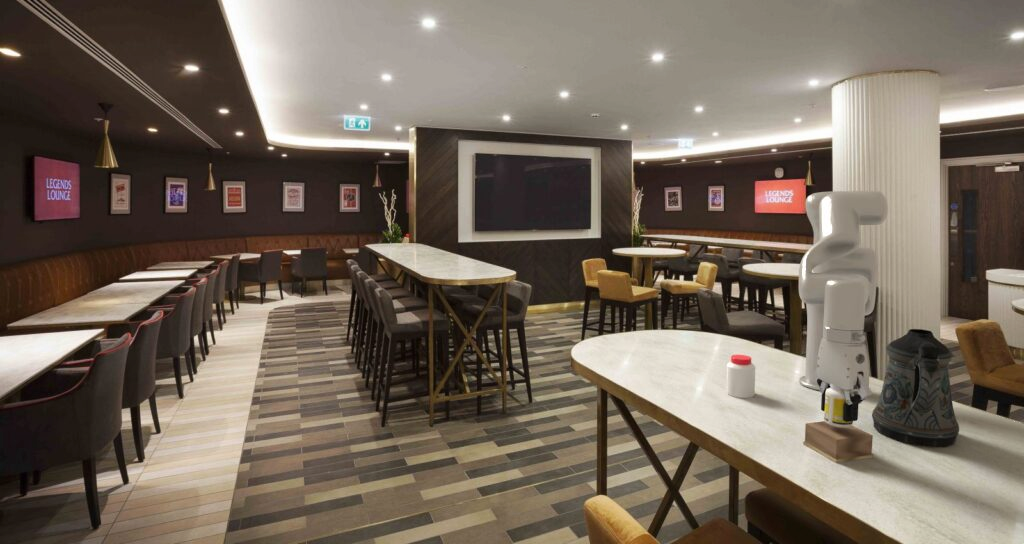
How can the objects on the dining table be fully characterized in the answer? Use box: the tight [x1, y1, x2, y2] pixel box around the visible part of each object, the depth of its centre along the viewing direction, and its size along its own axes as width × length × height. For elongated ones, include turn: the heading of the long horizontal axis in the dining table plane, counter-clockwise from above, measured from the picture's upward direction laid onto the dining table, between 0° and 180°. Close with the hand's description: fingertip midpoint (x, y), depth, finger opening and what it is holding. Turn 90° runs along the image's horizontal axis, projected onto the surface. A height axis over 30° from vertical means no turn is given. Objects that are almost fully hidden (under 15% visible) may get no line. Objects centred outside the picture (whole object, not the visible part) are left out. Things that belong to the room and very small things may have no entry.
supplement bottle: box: [823, 384, 854, 427], centre depth 118 cm, size 5×5×10 cm
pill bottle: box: [725, 354, 756, 399], centre depth 156 cm, size 8×8×11 cm
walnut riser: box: [802, 421, 874, 464], centre depth 119 cm, size 9×9×5 cm
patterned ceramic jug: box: [871, 328, 960, 449], centre depth 124 cm, size 16×19×25 cm
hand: (838, 414), depth 118 cm, fingers closed on supplement bottle, 5 cm apart
